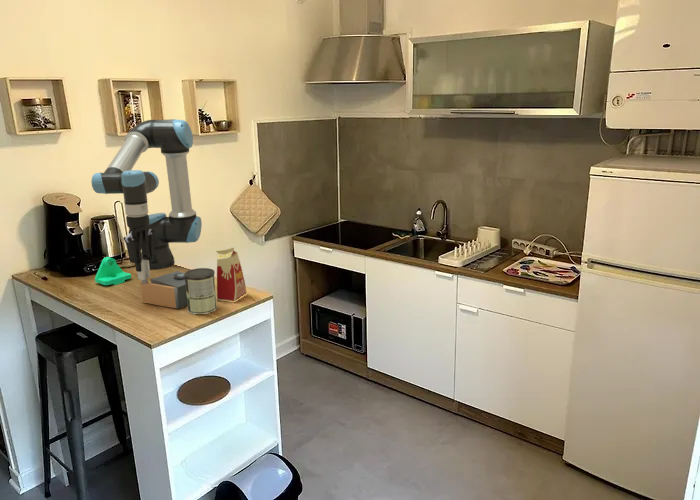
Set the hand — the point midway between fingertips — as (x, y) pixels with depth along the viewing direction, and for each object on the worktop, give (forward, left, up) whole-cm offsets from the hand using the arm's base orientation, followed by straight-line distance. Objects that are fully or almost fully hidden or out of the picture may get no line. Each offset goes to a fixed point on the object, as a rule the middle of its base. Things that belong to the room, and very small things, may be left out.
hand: (144, 278), depth 195 cm
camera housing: (-10, +6, -10) cm, 15 cm away
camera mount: (-7, -33, -10) cm, 35 cm away
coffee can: (-8, +22, -10) cm, 25 cm away
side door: (-1, +6, -10) cm, 11 cm away
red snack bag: (-22, +21, -10) cm, 32 cm away
